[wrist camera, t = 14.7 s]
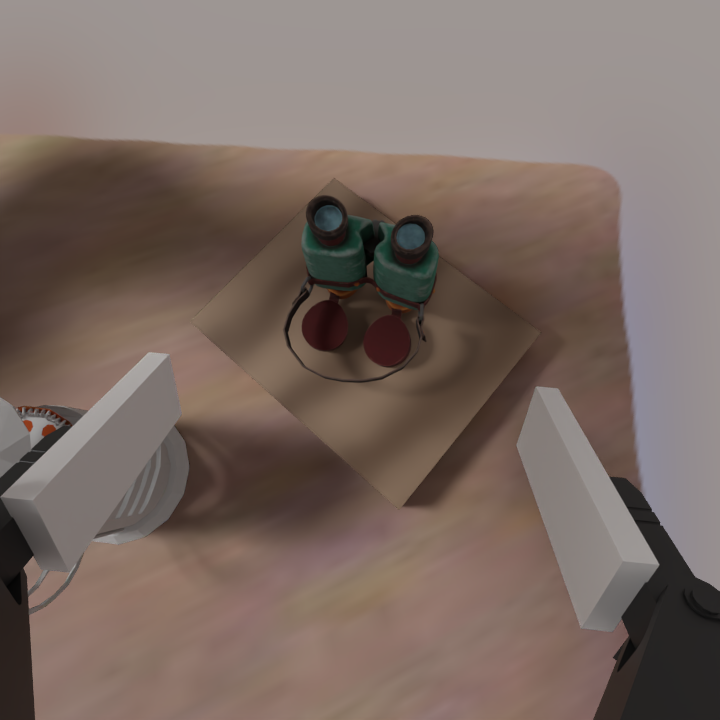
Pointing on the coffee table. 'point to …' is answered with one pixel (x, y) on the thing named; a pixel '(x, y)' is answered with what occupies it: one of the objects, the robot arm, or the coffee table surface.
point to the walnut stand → (349, 361)
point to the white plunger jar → (140, 503)
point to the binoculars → (364, 279)
